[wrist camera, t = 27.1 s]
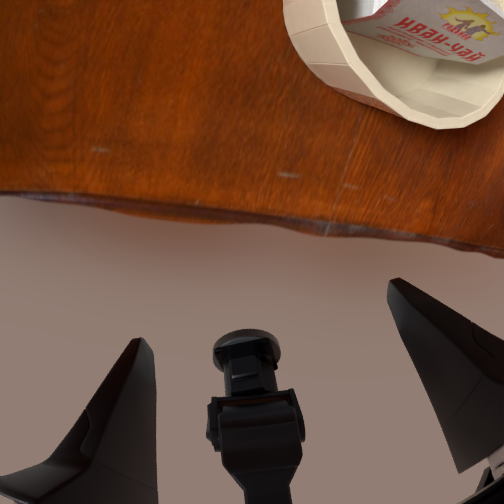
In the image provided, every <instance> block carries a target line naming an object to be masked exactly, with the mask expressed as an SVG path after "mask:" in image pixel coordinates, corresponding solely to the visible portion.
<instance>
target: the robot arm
mask: <svg viewBox="0 0 504 504" xmlns="http://www.w3.org/2000/svg"><path fill="white" fill-rule="evenodd" d="M387 302H388V305H389V307H390V310H391V312H392V315H393V318H394V320H395V323H396V326H397V328H398V331H399V334H400V336H401V339H402V341H403V343H404V345H405V347H406V349H407V351H408V353H409V355H410V357H411V359H412V361H413V363H414V366H415V368H416V370H417V372H418V374H419V376H420V378H421V381H422V383H423V385H424V387H425V390H426V392H427V394H428V396H429V399H430V401H431V403H432V406H433V408H434V411H435V413H436V415H437V418H438V420H439V423H440V425H441V428H442V430H443V433H444V436H445V438H446V441H447V443H448V446H449V449H450V451H451V454H452V457H453V460H454V463H455V465H456V468H457V471H458V473H459V474H460V473H462V472H464V471H465V470H467V469H469V468H471V467H472V466H474V465H475V464H477V463H479V462H480V461H482V460H483V459H485V458H487V460H488V463H489V465H490V466H489V467H487V468H486V469H485V470H484V473H483V475H482V477H481V480H480V482H479V485H478V487H477V490H476V492H475V493H474V494H473V495H471V496H469V497H468V498H466V499H464V500H463V501H461V502H459V503H457V504H504V340H502V339H500V338H498V337H496V336H495V335H493V334H491V333H489V332H488V331H486V330H484V329H483V328H481V327H479V326H478V325H476V324H475V323H473V322H471V321H470V320H468V319H467V318H465V317H464V316H462V315H461V314H459V313H457V312H456V311H454V310H453V309H451V308H449V307H448V306H446V305H444V304H443V303H441V302H440V301H438V300H436V299H435V298H433V297H432V296H430V295H428V294H427V293H425V292H423V291H422V290H420V289H418V288H417V287H415V286H413V285H412V284H410V283H408V282H407V281H405V280H403V279H401V278H395V279H392V280H390V281H389V283H388V290H387ZM214 355H215V357H216V359H217V360H218V362H219V364H220V366H221V368H222V370H223V372H224V380H225V381H224V382H225V395H226V397H212V401H211V403H210V404H209V405H208V406H207V407H208V421H207V430H206V438H207V439H208V440H209V441H211V442H212V445H213V446H214V450H215V452H221V457H222V464H223V466H224V467H225V469H226V470H227V471H228V472H229V474H230V475H231V476H232V477H233V479H234V480H235V481H236V482H237V483H238V484H239V486H240V487H241V488H242V489H243V491H244V497H245V504H292V499H291V493H290V487H289V485H290V483H291V480H292V478H293V476H294V474H295V472H296V469H297V467H298V466H299V464H300V461H301V459H302V455H303V454H302V447H301V442H304V441H305V425H304V420H303V416H302V412H301V410H300V407H299V404H298V401H297V398H296V395H295V392H294V389H288V390H284V391H278V388H277V383H276V377H275V373H274V371H275V370H277V369H278V365H277V361H276V358H275V354H274V350H273V347H272V343H271V339H270V338H262V339H257V340H252V341H248V342H243V343H238V344H233V345H228V346H223V347H218V348H215V349H214ZM0 495H2V496H5V497H7V498H9V499H12V500H14V504H158V491H157V465H156V379H155V365H154V355H153V351H152V349H151V348H150V347H149V345H148V344H147V342H146V341H145V340H144V338H141V337H140V338H134V339H132V340H131V341H130V343H129V344H128V346H127V347H126V348H125V350H124V352H123V353H122V354H121V356H120V357H119V359H118V360H117V361H116V363H115V364H114V366H113V367H112V369H111V370H110V372H109V373H108V375H107V376H106V378H105V379H104V381H103V382H102V384H101V385H100V387H99V388H98V390H97V391H96V393H95V394H94V396H93V397H92V399H91V400H90V402H89V403H88V405H87V406H86V409H84V411H83V413H82V414H81V416H80V417H79V418H78V420H77V421H76V423H75V424H74V426H73V427H72V429H71V430H70V432H69V433H68V434H67V435H66V437H65V438H64V439H63V440H62V442H61V443H60V444H59V446H58V447H57V448H56V450H55V451H54V452H53V453H52V455H51V456H50V457H49V458H48V459H47V460H45V461H44V462H42V463H40V464H37V465H35V466H32V467H29V468H26V469H24V470H21V471H18V472H15V473H12V474H9V475H5V476H0Z"/></svg>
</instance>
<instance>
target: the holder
mask: <svg viewBox="0 0 504 504" xmlns="http://www.w3.org/2000/svg"><path fill="white" fill-rule="evenodd" d="M490 1H491V2H492V3H493V4H495V5H496V6H497V7H498V8H500V9H501V10H502V11H503V12H504V0H490ZM283 13H284V20H285V25H286V28H287V31H288V35H289V37H290V39H291V41H292V44H293V46H294V48H295V49H296V51H297V53H298V54H299V56H300V57H301V59H302V60H303V61H304V63H305V64H306V65H307V67H308V68H309V69H310V70H311V71H312V72H313V73H314V74H315V75H316V76H317V77H318V78H319V79H321V80H322V81H323V82H324V83H325V84H327V85H328V86H330V87H331V88H333V89H334V90H336V91H338V92H339V93H341V94H343V95H345V96H347V97H349V98H351V99H353V100H355V101H358V102H361V103H364V104H367V105H370V106H373V107H375V108H378V109H381V110H384V111H386V112H389V113H391V114H394V115H396V116H399V117H401V118H404V119H406V120H409V121H412V122H415V123H418V124H421V125H425V126H428V127H431V128H434V129H452V128H463V127H466V126H468V125H470V124H472V123H474V122H476V121H478V120H480V119H482V118H484V117H485V116H486V115H487V114H488V113H489V112H490V111H491V110H492V109H493V107H494V106H495V105H496V104H497V103H498V102H499V100H500V99H501V98H502V96H503V93H504V55H503V56H500V57H497V58H494V59H491V60H489V61H486V62H483V63H480V64H478V65H476V64H471V63H466V62H460V61H454V60H447V59H439V58H431V57H422V56H416V55H414V54H411V53H409V52H406V51H404V50H401V49H399V48H396V47H393V46H391V45H388V44H385V43H382V42H379V41H376V40H373V39H370V38H367V37H364V36H361V35H358V34H354V33H351V32H347V31H345V29H344V27H343V26H342V24H341V21H340V16H339V12H338V7H337V3H336V0H283Z"/></svg>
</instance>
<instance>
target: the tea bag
mask: <svg viewBox="0 0 504 504" xmlns="http://www.w3.org/2000/svg"><path fill="white" fill-rule="evenodd" d="M336 3H337V7H338V12H339V16H340V21H341V24H342V26H343V27H344V29H345V31H347V32H351V33H354V34H358V35H361V36H364V37H367V38H370V39H373V40H376V41H379V42H382V43H385V44H388V45H391V46H393V47H396V48H399V49H401V50H404V51H406V52H409V53H411V54H414V55H416V56H422V57H431V58H439V59H447V60H454V61H460V62H466V63H471V64H476V65H478V64H480V63H483V62H486V61H489V60H491V59H494V58H497V57H500V56H503V55H504V12H503V11H502V10H501V9H500V8H498V7H497V6H496V5H495V4H493V3H492V2H491V1H490V0H336Z"/></svg>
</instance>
